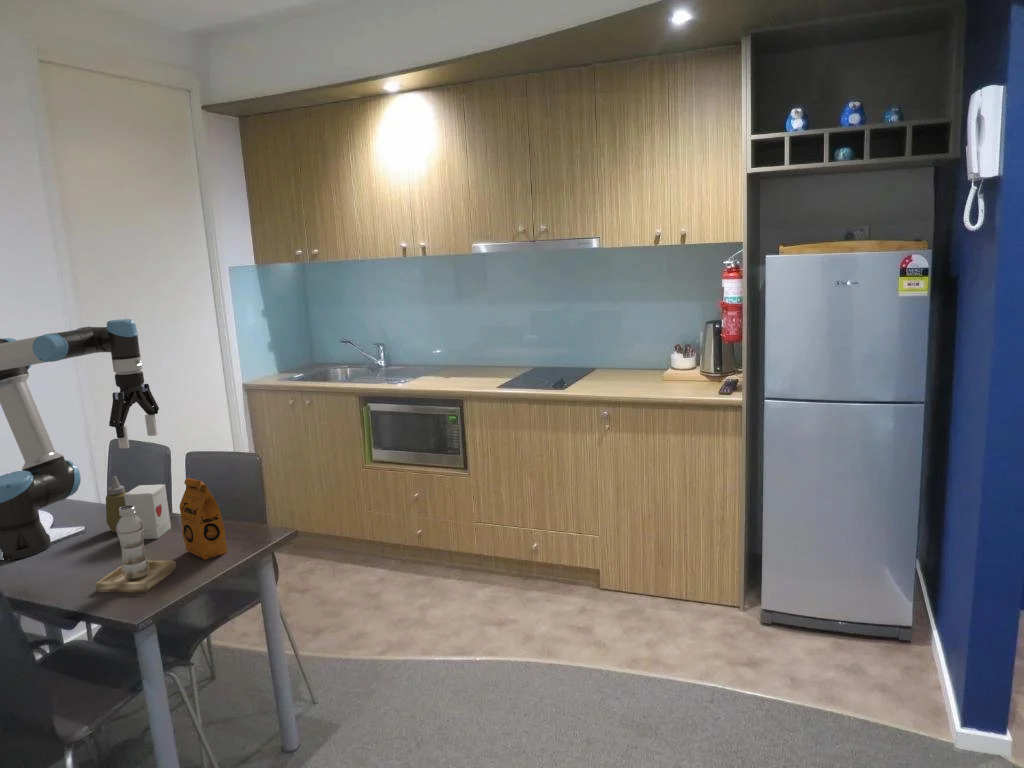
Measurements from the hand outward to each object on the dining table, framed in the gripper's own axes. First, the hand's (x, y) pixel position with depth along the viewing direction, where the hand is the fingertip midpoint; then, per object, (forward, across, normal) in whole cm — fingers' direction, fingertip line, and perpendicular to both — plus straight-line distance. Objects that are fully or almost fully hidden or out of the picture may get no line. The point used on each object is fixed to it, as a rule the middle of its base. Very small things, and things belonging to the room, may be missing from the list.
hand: (138, 441), depth 218 cm
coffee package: (+32, -8, -22) cm, 40 cm away
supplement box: (+32, +5, +4) cm, 33 cm away
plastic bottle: (+31, -26, -12) cm, 42 cm away
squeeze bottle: (+32, +8, +16) cm, 37 cm away
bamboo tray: (+32, -26, -12) cm, 43 cm away
